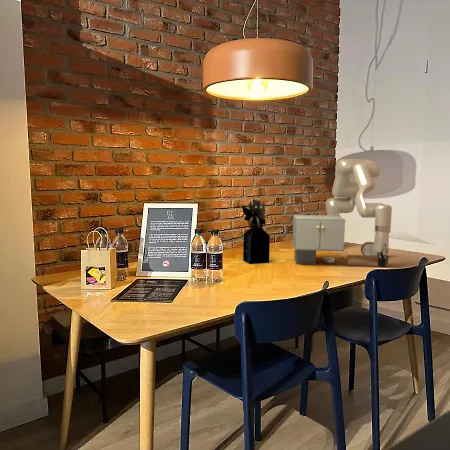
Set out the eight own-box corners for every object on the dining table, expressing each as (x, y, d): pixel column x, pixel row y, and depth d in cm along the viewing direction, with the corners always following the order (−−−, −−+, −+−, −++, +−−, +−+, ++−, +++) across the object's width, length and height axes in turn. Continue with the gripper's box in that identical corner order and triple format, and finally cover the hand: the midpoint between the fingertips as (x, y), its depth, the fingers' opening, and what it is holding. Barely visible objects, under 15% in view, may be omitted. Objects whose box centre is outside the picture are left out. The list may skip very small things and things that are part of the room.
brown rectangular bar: (346, 264, 221) (347, 254, 221) (387, 265, 220) (387, 255, 219) (347, 265, 219) (348, 255, 218) (388, 266, 218) (388, 256, 217)
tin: (387, 256, 245) (388, 242, 244) (389, 257, 242) (389, 242, 241) (360, 255, 247) (361, 241, 246) (361, 257, 244) (362, 242, 242)
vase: (245, 265, 219) (246, 196, 215) (237, 260, 230) (238, 194, 226) (271, 263, 224) (272, 196, 219) (262, 259, 235) (264, 194, 230)
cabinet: (292, 258, 237) (293, 215, 234) (336, 259, 235) (338, 215, 232) (295, 266, 218) (296, 219, 215) (343, 267, 216) (345, 219, 213)
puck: (324, 261, 231) (324, 257, 231) (333, 261, 231) (333, 257, 230) (325, 263, 226) (325, 259, 226) (335, 263, 226) (335, 259, 225)
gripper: (370, 227, 225) (368, 261, 227) (379, 231, 209) (377, 268, 211) (385, 227, 224) (383, 262, 227) (395, 231, 208) (393, 269, 211)
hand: (380, 264), depth 219 cm, fingers closed on brown rectangular bar, 2 cm apart
